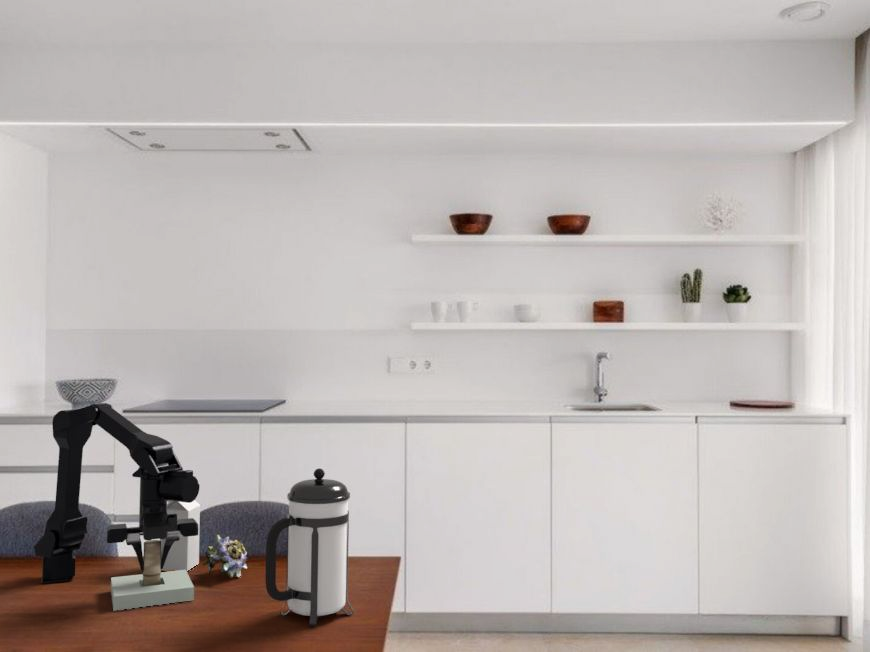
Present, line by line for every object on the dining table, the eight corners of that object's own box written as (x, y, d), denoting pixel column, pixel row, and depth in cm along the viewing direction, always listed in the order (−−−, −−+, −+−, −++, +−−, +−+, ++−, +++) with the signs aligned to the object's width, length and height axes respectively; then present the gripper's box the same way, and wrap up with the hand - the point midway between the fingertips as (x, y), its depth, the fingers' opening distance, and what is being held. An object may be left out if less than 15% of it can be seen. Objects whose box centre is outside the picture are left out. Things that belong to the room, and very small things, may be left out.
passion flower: (236, 601, 182) (233, 568, 175) (193, 589, 183) (189, 557, 177) (255, 563, 191) (253, 531, 184) (215, 553, 193) (211, 520, 186)
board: (113, 611, 159) (113, 596, 159) (110, 591, 171) (111, 577, 171) (193, 601, 165) (194, 587, 165) (185, 582, 178) (185, 569, 178)
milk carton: (199, 565, 192) (200, 488, 193) (187, 573, 185) (188, 494, 186) (171, 564, 193) (173, 488, 193) (158, 572, 186) (160, 493, 186)
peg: (143, 591, 166) (144, 545, 166) (141, 586, 169) (142, 541, 170) (161, 589, 168) (162, 543, 168) (159, 584, 171) (160, 539, 171)
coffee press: (284, 601, 166) (286, 462, 167) (357, 603, 165) (359, 463, 166) (263, 631, 149) (266, 475, 149) (345, 633, 148) (348, 477, 149)
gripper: (108, 508, 158) (106, 585, 157) (202, 502, 166) (201, 575, 165) (107, 498, 168) (105, 570, 167) (195, 492, 176) (194, 561, 175)
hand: (151, 569), depth 169 cm, fingers closed on peg, 4 cm apart
